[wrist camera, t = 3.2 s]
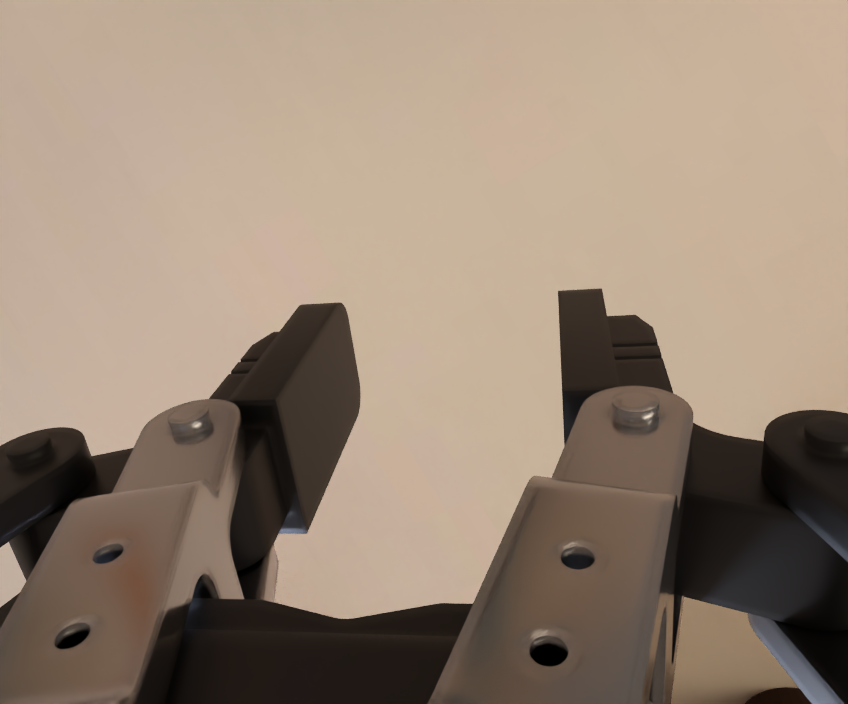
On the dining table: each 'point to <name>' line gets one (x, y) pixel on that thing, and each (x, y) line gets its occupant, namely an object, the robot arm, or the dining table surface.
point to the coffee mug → (780, 697)
